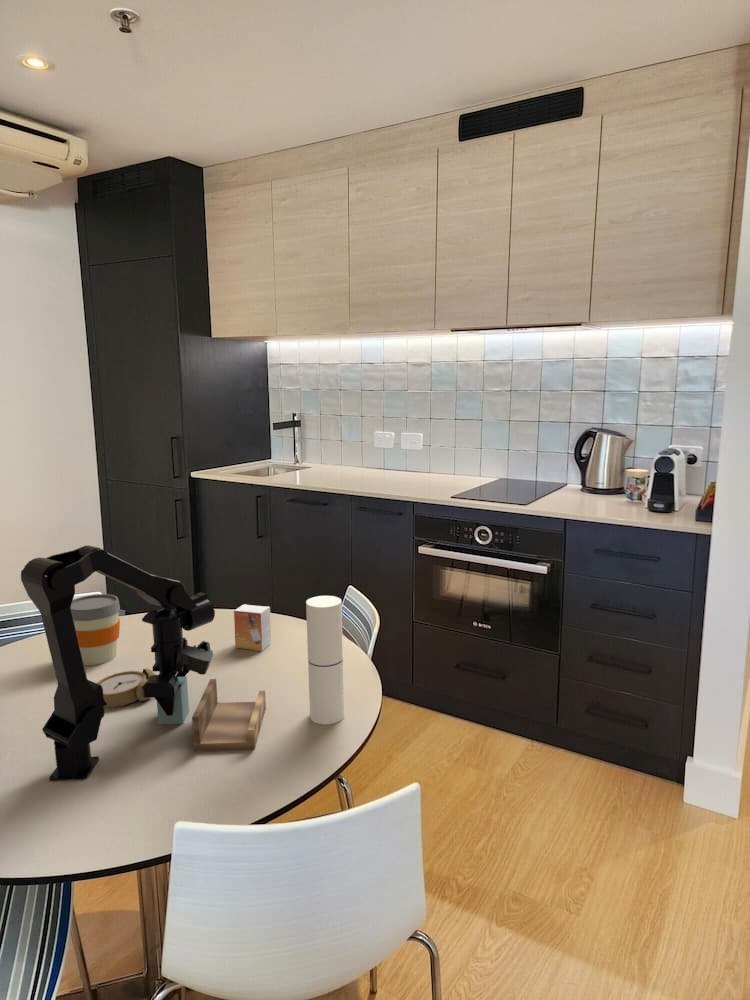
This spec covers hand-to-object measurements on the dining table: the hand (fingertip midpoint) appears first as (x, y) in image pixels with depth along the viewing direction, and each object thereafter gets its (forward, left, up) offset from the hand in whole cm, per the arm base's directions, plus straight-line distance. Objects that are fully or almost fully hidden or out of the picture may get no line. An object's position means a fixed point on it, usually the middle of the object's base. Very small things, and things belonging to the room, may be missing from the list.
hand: (173, 708), depth 135 cm
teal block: (0, 0, -2) cm, 2 cm away
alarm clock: (+11, +13, -2) cm, 17 cm away
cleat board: (-5, -13, -2) cm, 14 cm away
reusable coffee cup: (+32, +28, -2) cm, 43 cm away
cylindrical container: (-1, -32, -2) cm, 32 cm away
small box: (+37, -11, -2) cm, 39 cm away
